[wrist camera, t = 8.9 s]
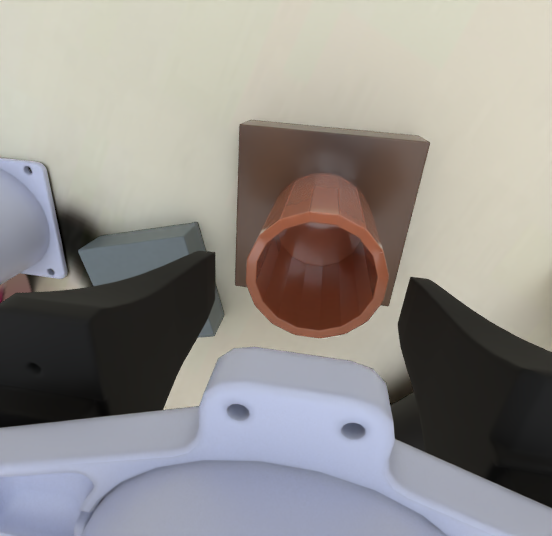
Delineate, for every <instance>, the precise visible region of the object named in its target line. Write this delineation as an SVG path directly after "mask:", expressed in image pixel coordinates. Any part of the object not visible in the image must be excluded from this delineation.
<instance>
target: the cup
mask: <svg viewBox="0 0 552 536" xmlns="http://www.w3.org/2000/svg"><path fill="white" fill-rule="evenodd" d="M388 280H389V273H388V268H387V264H386V259H385V255H384V251H383V248H382V245H381V241H380V238H379V235H378V232H377V228H376V225H375V222H374V219H373V216H372V212H371V209H370V206H369V204H368V202H367V200H366V198H365V196H364V195H363V193H362V192H361V191H360V190H359V189H358V187H356V186H355V185H354V184H353V183H352V182H350V181H349V180H347V179H345V178H343V177H341V176H338V175H335V174H330V173H313V174H308V175H305V176H302V177H300V178H298V179H296V180H294V181H293V182H291V183H290V184H288V185H287V186H286V187H285V188H284V189H283V190H282V192H281V193H280V194H279V195H278V197H277V199H276V201H275V203H274V205H273V207H272V209H271V211H270V213H269V215H268V217H267V219H266V221H265V223H264V225H263V227H262V229H261V231H260V233H259V235H258V237H257V239H256V241H255V243H254V245H253V247H252V249H251V251H250V253H249V255H248V257H247V264H246V285H247V287H248V290H249V292H250V295H251V297H252V300H253V302H254V305H255V306H256V307H257V308H258V309H259V310H260V312H261V313H262V314H263V315H264V316H265V317H266V318H267V319H268V320H269V321H270V322H271V323H272V324H274V325H276V326H278V327H280V328H282V329H284V330H286V331H288V332H290V333H292V334H295V335H300V336H307V337H314V338H325V337H331V336H336V335H342V334H345V333H348V332H350V331H351V330H353V329H355V328H357V327H358V326H360V325H362V324H364V323H365V322H367V321H368V320H369V319H370V317H371V316H372V315H373V314H374V312H375V311H376V310H377V309H378V307H379V306H380V305H381V304H382V302H383V300H384V296H385V292H386V288H387V284H388Z"/></svg>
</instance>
